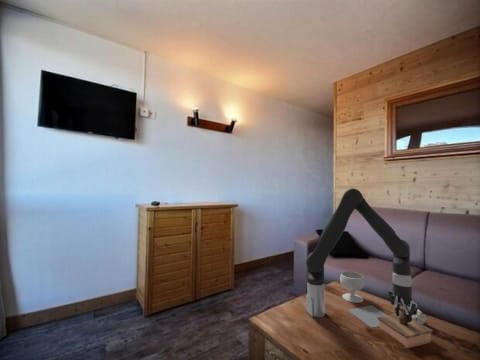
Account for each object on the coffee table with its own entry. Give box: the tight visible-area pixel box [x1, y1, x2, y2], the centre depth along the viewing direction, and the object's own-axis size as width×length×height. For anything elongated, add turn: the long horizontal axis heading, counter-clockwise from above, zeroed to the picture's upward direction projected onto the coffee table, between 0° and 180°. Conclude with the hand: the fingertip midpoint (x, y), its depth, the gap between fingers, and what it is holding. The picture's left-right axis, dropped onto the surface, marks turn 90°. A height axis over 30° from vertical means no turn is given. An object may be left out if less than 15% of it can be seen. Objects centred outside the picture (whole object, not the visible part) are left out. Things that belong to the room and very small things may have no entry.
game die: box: [408, 308, 429, 326], centre depth 115 cm, size 9×8×10 cm
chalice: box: [339, 270, 365, 304], centre depth 142 cm, size 14×14×15 cm
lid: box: [378, 308, 433, 339], centre depth 107 cm, size 15×15×7 cm
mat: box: [347, 305, 387, 328], centre depth 123 cm, size 17×17×1 cm
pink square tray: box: [379, 320, 432, 349], centre depth 107 cm, size 14×14×4 cm
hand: (403, 318), depth 107 cm, fingers open, 4 cm apart
